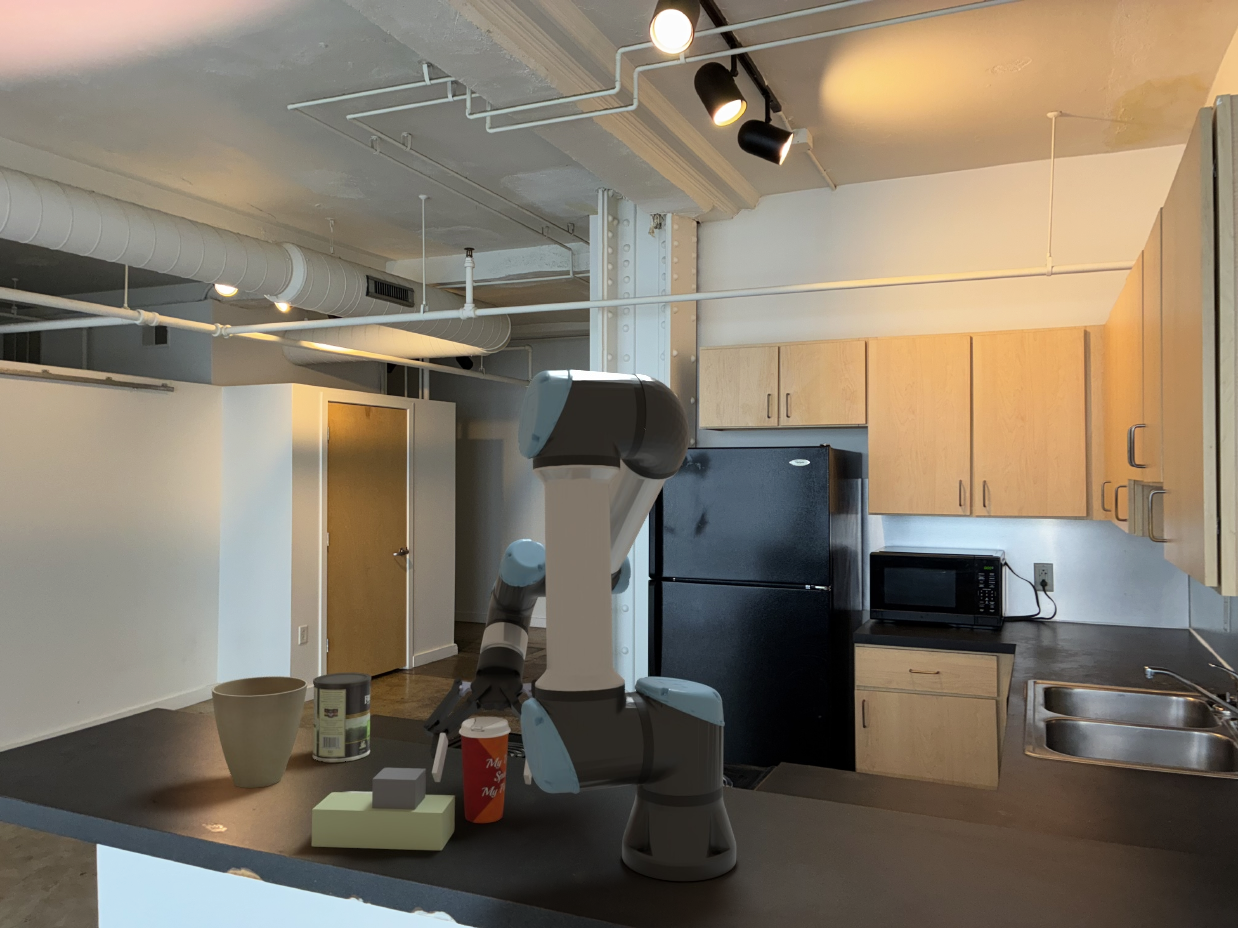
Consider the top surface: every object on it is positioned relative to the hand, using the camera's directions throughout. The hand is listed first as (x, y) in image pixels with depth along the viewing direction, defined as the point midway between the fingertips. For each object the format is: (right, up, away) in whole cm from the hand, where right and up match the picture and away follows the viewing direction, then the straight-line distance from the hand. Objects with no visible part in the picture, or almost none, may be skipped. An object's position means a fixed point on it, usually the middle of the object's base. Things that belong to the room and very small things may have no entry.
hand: (481, 778), depth 130 cm
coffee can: (-31, -7, +33) cm, 46 cm away
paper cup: (0, -6, +2) cm, 7 cm away
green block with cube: (-13, -6, -2) cm, 14 cm away
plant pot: (-40, -7, +18) cm, 44 cm away
